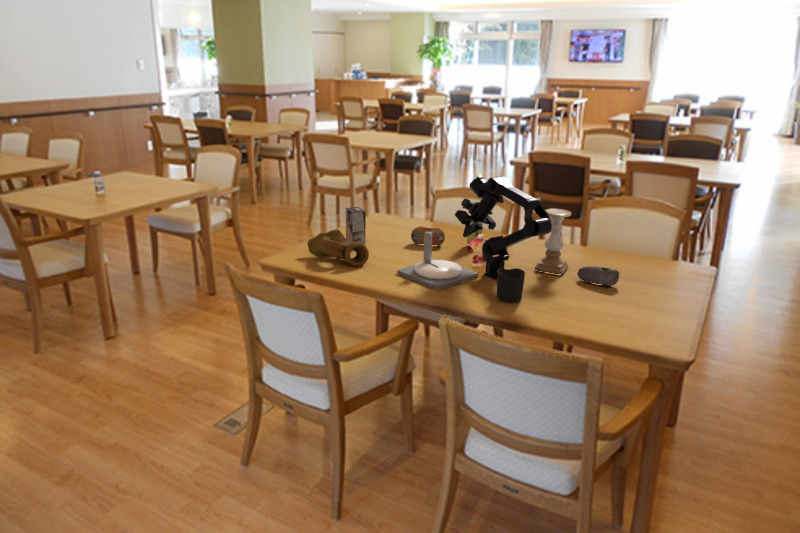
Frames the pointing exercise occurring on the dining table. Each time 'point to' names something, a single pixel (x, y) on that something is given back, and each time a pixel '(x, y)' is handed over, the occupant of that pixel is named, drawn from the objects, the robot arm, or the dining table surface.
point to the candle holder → (554, 244)
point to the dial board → (437, 283)
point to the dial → (435, 264)
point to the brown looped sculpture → (338, 248)
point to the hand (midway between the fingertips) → (464, 236)
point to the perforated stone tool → (599, 275)
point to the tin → (420, 231)
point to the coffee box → (355, 225)
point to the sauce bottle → (473, 235)
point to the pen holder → (510, 284)
